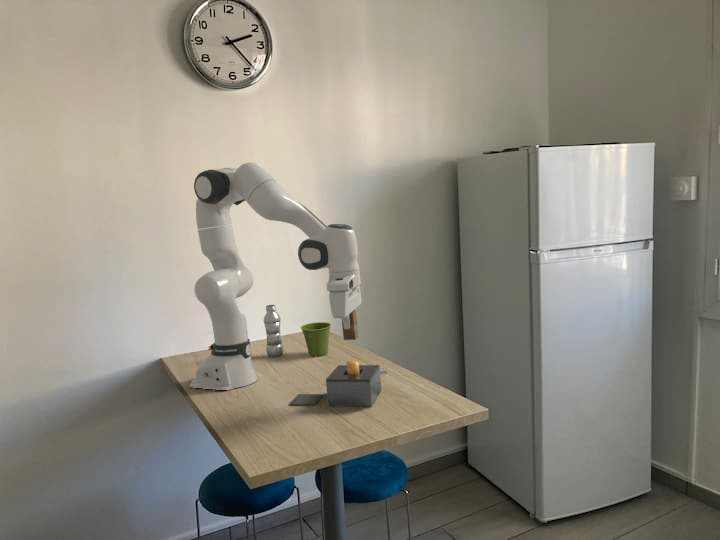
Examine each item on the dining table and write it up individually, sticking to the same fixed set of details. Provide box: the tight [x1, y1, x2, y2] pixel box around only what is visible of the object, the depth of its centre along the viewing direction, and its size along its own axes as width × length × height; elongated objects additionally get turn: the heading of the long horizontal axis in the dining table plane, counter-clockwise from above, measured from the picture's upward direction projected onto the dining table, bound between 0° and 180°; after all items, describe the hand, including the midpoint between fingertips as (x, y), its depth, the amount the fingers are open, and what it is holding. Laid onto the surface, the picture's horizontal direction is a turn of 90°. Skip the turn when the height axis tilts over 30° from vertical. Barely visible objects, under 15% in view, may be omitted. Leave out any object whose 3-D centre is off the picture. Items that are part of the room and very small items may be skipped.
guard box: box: [325, 364, 382, 408], centre depth 168 cm, size 13×13×8 cm
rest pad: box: [288, 393, 324, 407], centre depth 170 cm, size 8×8×1 cm
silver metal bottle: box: [263, 304, 284, 358], centre depth 220 cm, size 6×7×20 cm
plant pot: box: [300, 321, 332, 357], centre depth 218 cm, size 12×12×11 cm
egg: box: [346, 359, 360, 375], centre depth 167 cm, size 4×4×6 cm
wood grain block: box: [341, 309, 359, 341], centre depth 166 cm, size 4×4×8 cm
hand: (349, 326), depth 166 cm, fingers closed on wood grain block, 3 cm apart
